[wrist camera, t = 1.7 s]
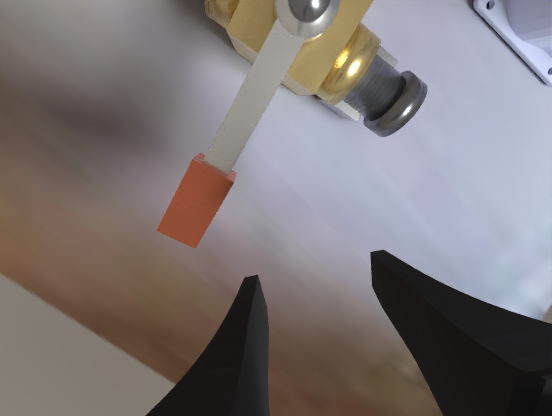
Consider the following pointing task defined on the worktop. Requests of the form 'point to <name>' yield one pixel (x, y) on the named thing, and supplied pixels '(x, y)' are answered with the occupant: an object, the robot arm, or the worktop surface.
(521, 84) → the worktop surface
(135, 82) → the worktop surface
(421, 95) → the pipe valve
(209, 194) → the valve lever
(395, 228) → the worktop surface
